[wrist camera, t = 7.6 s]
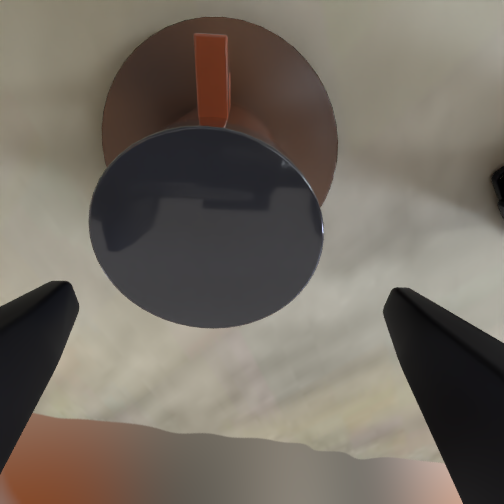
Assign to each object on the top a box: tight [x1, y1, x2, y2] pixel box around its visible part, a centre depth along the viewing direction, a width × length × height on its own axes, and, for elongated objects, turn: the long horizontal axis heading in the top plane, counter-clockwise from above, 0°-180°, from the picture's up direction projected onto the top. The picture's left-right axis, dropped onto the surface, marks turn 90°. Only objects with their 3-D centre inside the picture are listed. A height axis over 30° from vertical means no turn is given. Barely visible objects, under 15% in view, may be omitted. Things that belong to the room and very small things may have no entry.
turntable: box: [102, 17, 338, 207], centre depth 17 cm, size 14×14×1 cm
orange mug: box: [89, 33, 324, 328], centre depth 12 cm, size 9×7×9 cm
